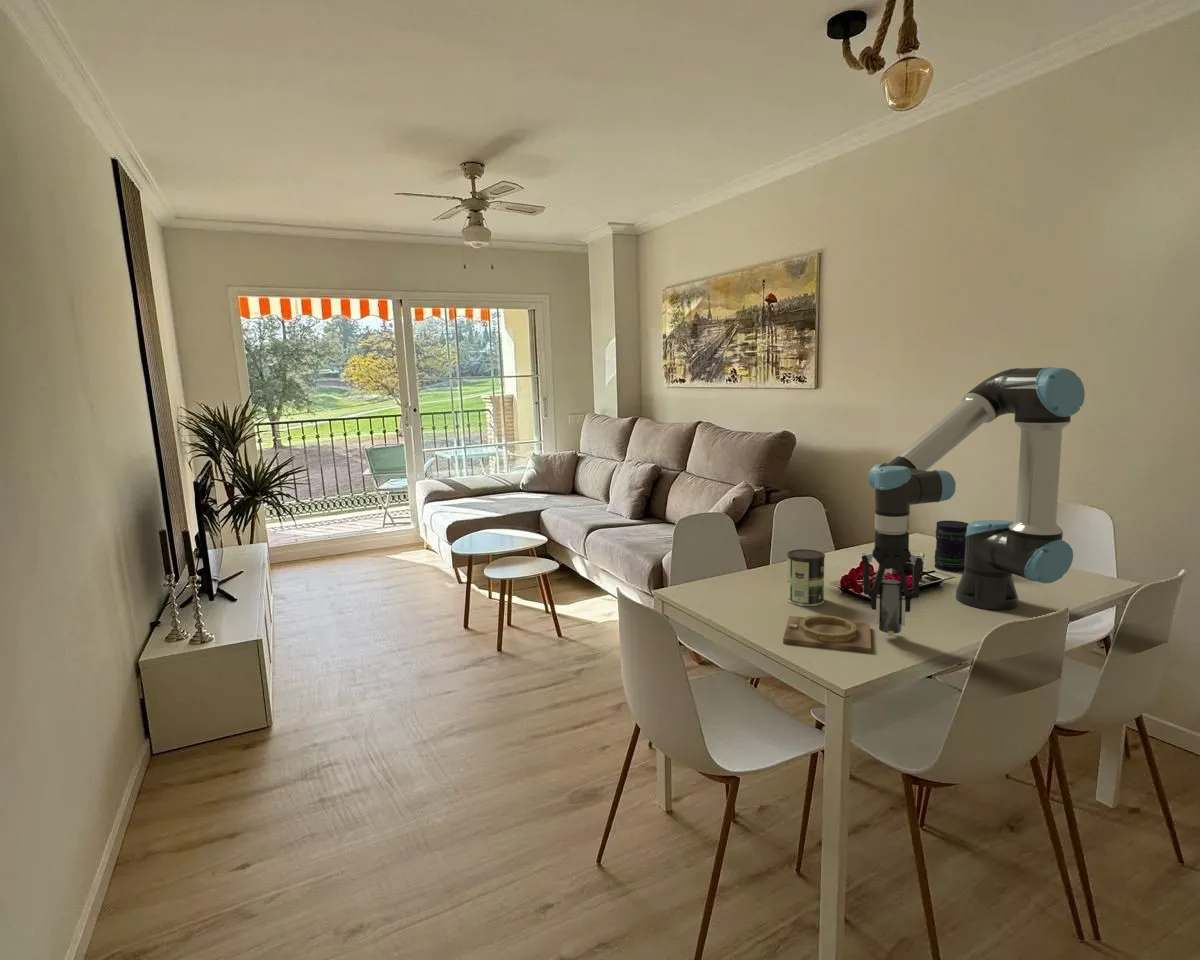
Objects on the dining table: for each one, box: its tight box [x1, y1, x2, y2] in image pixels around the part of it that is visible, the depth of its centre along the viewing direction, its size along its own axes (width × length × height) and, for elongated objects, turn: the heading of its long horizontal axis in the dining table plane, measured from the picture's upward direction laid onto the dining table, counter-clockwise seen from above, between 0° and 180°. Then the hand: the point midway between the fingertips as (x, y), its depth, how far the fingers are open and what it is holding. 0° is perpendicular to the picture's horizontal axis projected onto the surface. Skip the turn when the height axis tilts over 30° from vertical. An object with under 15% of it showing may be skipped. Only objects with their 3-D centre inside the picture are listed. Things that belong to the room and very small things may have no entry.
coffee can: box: [786, 548, 826, 607], centre depth 189 cm, size 10×10×14 cm
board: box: [782, 614, 872, 654], centre depth 164 cm, size 20×16×3 cm
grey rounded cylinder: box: [878, 579, 903, 637], centre depth 160 cm, size 5×8×12 cm, turn 159°
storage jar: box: [933, 520, 969, 573], centre depth 215 cm, size 10×10×15 cm
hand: (890, 622), depth 161 cm, fingers closed on grey rounded cylinder, 5 cm apart
